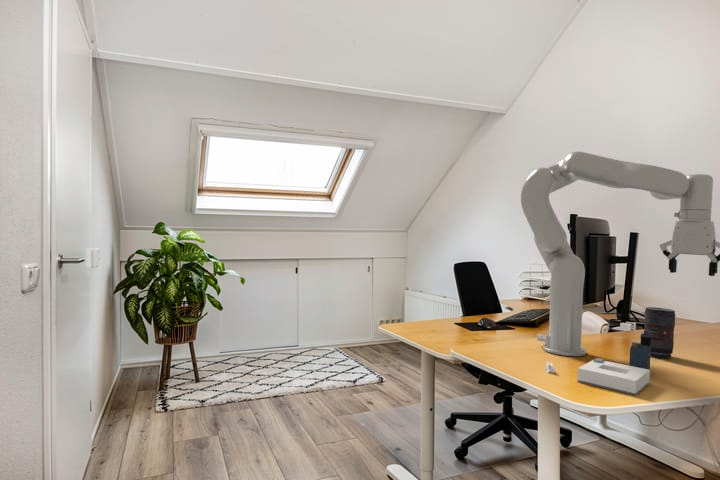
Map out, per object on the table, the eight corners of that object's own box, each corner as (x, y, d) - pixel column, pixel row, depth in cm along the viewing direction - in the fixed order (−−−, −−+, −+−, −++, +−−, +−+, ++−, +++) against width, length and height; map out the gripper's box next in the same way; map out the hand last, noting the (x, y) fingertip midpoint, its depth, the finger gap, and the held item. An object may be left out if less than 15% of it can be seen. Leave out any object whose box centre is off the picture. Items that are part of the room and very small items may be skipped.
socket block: (577, 381, 116) (578, 366, 116) (594, 371, 125) (595, 357, 125) (635, 395, 107) (635, 378, 106) (649, 383, 116) (650, 367, 116)
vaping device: (645, 377, 121) (647, 332, 121) (627, 371, 126) (628, 328, 126) (652, 376, 122) (653, 331, 122) (633, 370, 127) (635, 327, 127)
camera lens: (678, 360, 138) (680, 311, 138) (649, 358, 140) (651, 310, 140) (666, 353, 146) (668, 307, 146) (638, 351, 148) (640, 306, 148)
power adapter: (543, 371, 125) (544, 360, 125) (553, 372, 125) (553, 360, 125) (548, 375, 122) (548, 363, 122) (557, 375, 122) (558, 363, 122)
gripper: (657, 216, 139) (654, 271, 140) (728, 216, 126) (724, 277, 126) (666, 217, 144) (663, 271, 144) (735, 217, 130) (732, 276, 131)
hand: (691, 274), depth 135 cm, fingers open, 9 cm apart
